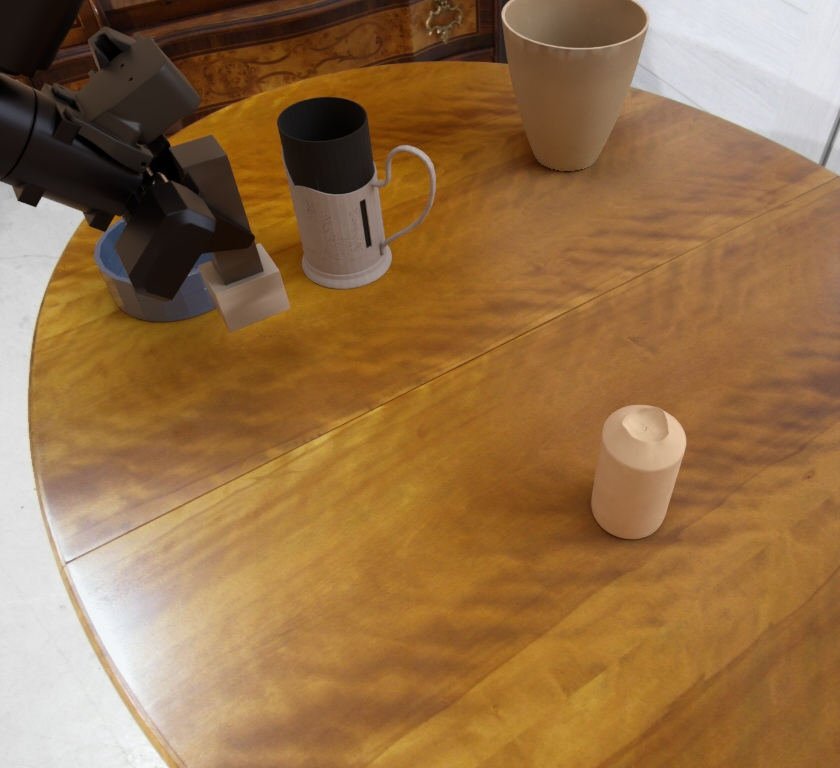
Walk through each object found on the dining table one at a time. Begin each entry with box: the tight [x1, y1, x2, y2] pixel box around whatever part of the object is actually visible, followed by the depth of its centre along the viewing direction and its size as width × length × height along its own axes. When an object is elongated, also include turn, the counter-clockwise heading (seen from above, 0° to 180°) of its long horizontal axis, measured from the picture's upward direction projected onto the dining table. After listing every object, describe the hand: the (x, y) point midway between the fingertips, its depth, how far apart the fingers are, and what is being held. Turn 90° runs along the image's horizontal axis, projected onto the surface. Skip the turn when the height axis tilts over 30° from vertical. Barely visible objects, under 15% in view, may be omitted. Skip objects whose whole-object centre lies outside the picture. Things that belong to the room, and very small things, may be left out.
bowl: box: [93, 217, 216, 323], centre depth 72 cm, size 12×12×4 cm
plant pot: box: [500, 0, 651, 172], centre depth 84 cm, size 15×15×16 cm
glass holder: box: [276, 96, 437, 290], centre depth 70 cm, size 9×14×15 cm, turn 73°
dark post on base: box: [169, 134, 291, 334], centre depth 57 cm, size 5×4×14 cm
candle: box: [590, 404, 687, 540], centre depth 53 cm, size 6×6×10 cm
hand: (243, 230), depth 57 cm, fingers closed on dark post on base, 3 cm apart
